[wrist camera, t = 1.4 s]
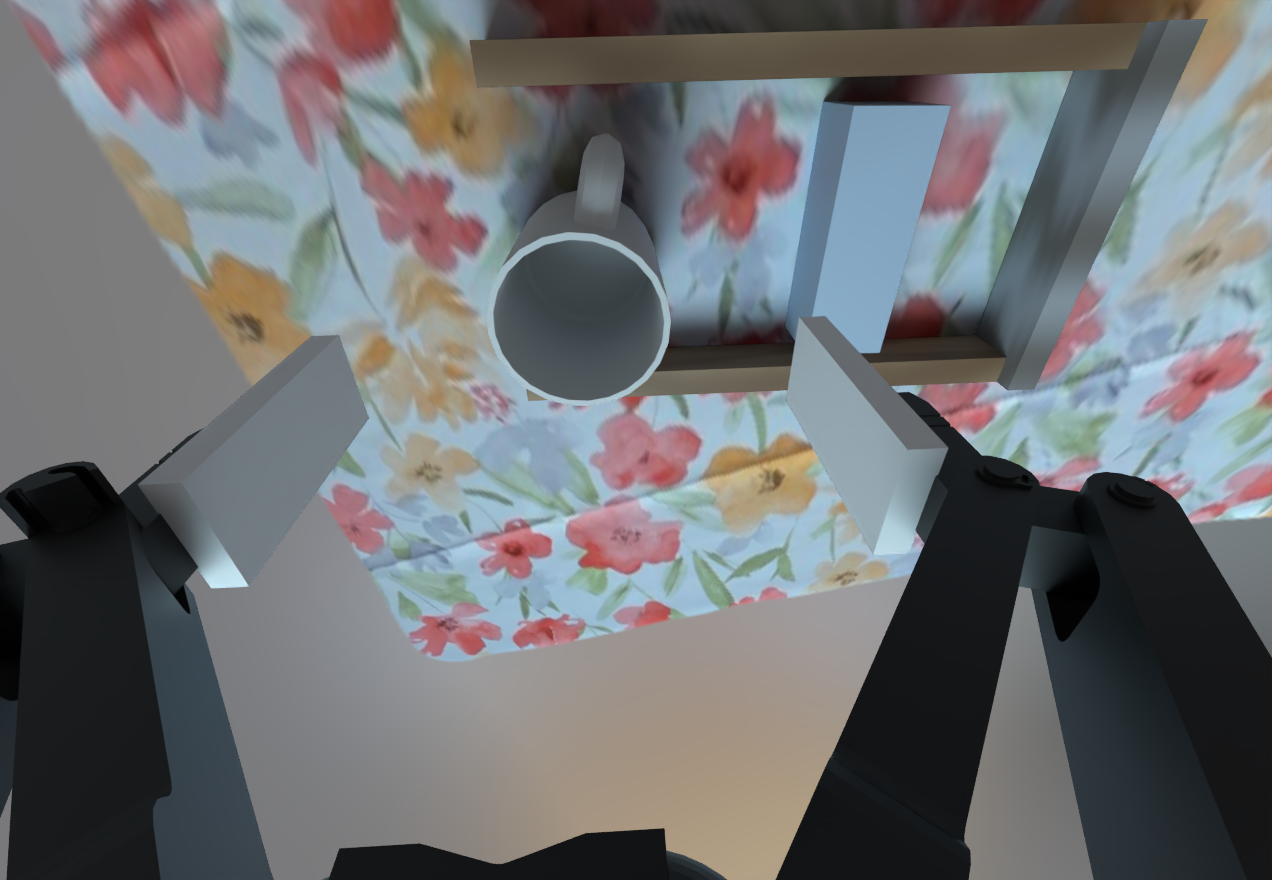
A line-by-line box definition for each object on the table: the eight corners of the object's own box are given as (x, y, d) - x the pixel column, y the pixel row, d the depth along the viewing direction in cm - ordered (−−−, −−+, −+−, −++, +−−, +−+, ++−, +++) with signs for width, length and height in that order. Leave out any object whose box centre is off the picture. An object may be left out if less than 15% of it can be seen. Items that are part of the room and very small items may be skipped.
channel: (484, 43, 23) (463, 38, 19) (1123, 26, 23) (1208, 19, 20) (534, 375, 32) (525, 410, 28) (991, 357, 32) (1034, 389, 29)
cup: (513, 313, 29) (482, 392, 22) (529, 106, 24) (494, 120, 17) (639, 335, 31) (649, 417, 23) (682, 142, 25) (712, 170, 18)
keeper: (821, 101, 25) (854, 105, 21) (905, 101, 25) (951, 105, 21) (783, 324, 31) (804, 354, 28) (850, 323, 31) (879, 352, 28)
